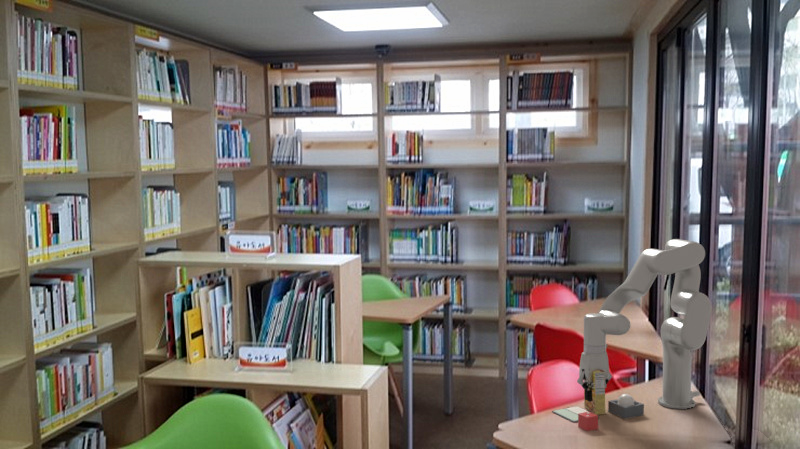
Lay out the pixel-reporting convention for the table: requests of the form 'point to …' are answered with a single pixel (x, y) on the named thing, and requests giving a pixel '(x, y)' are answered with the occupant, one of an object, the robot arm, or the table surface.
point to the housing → (625, 409)
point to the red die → (588, 421)
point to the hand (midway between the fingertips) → (594, 398)
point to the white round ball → (625, 400)
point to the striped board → (570, 413)
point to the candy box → (597, 393)
